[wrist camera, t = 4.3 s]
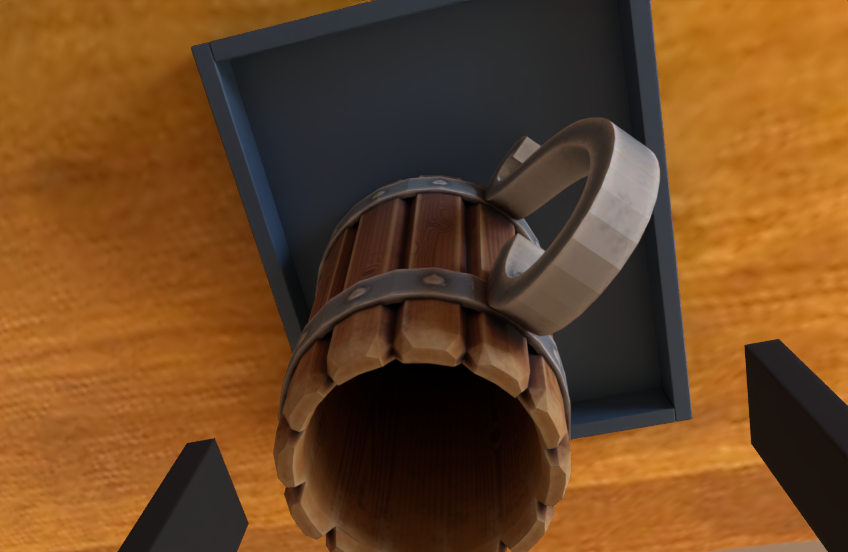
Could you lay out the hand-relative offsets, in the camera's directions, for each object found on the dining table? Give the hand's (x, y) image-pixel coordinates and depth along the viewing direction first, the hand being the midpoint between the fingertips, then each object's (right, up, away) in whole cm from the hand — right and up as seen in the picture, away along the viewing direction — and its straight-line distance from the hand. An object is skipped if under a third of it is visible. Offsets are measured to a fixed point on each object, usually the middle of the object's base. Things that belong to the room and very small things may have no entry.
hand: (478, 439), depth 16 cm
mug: (+1, +6, +15) cm, 16 cm away
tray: (+1, +6, +15) cm, 17 cm away
